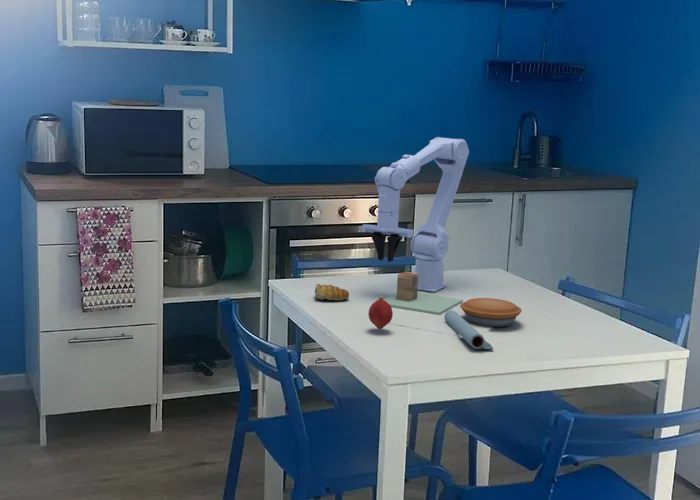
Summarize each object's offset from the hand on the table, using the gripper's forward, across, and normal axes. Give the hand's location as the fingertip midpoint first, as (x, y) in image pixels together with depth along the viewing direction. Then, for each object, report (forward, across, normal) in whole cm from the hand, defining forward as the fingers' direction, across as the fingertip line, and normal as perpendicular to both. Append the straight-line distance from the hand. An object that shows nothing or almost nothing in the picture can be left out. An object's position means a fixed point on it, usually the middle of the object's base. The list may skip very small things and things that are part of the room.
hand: (385, 260), depth 244 cm
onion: (+11, +13, -31) cm, 35 cm away
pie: (+11, +33, -6) cm, 35 cm away
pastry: (+11, -8, -13) cm, 19 cm away
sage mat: (+10, +11, 0) cm, 15 cm away
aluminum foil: (+11, +32, -22) cm, 41 cm away
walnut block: (+10, +7, 0) cm, 12 cm away
